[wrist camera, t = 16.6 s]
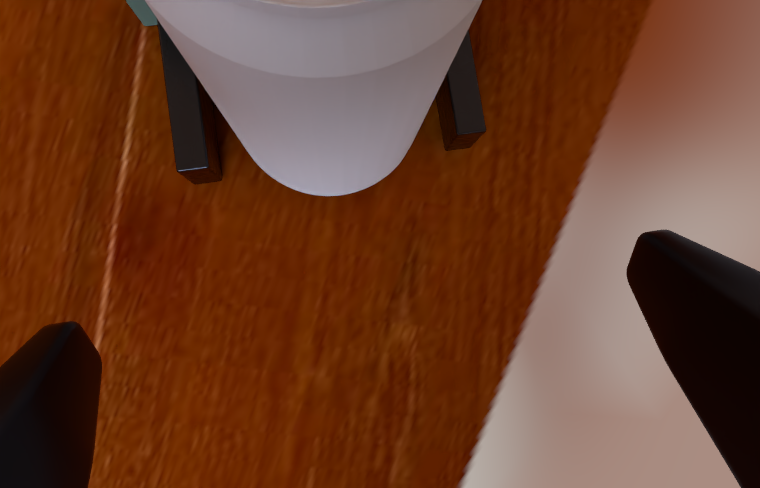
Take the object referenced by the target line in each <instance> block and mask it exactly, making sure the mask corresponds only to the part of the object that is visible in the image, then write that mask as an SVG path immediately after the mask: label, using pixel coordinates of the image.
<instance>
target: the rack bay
mask: <svg viewBox="0 0 760 488" xmlns="http://www.w3.org/2000/svg"><path fill="white" fill-rule="evenodd" d="M126 2H127V3H128V4H129V6H130V7H131V8H132V10H133V11H134V13H135V14H136V15H137V17H138V18H139V19H140V21H141V22H142V23H143V25H144V26H151V25H158V30H159V38H160V46H161V54H162V61H163V69H164V77H165V85H166V93H167V100H168V108H169V116H170V124H171V131H172V139H173V147H174V155H175V162H176V170H177V172H178V173H180V174H181V175H182V176H184V177H185V178H187V179H188V180H189V181H191V182H192V183H193V184H202V183H210V182H217V181H221V180H222V173H221V165H220V158H219V150H218V143H217V136H216V128H215V121H214V114H213V106H212V99H211V97H210V96H209V94H208V93H207V91H206V90H205V88H204V87H203V85H202V84H201V82H200V81H199V79H198V78H197V76H196V75H195V74H194V72H193V71H192V69H191V68H190V66H189V65H188V63H187V62H186V60H185V59H184V57H183V56H182V54H181V53H180V51H179V50H178V49H177V47H176V46H175V44H174V43H173V41H172V40H171V38H170V37H169V35H168V34H167V32H166V31H165V29H164V28H163V26H162V25H161V24H160V22H159V21H158V19H157V18H156V16H155V15H154V13H153V12H152V10H151V9H150V7H149V6H148V4H147V3H146V1H145V0H126ZM436 100H437V106H438V112H439V118H440V124H441V130H442V136H443V141H444V147H445V150H446V151H448V150H456V149H463V148H470V147H471V146H472V145H473V144H474V143H475V142H476V141H477V140H478V139H479V138H480V137H481V136H482V135H483V134H484V133H485V131H486V127H485V121H484V115H483V110H482V104H481V98H480V93H479V87H478V81H477V76H476V70H475V64H474V59H473V53H472V47H471V42H470V36H469V30H468V31H467V33H466V35H465V37H464V39H463V41H462V43H461V45H460V47H459V49H458V51H457V53H456V55H455V57H454V59H453V61H452V63H451V65H450V67H449V69H448V71H447V73H446V75H445V78H444V80H443V82H442V84H441V86H440V88H439V90H438V92H437V94H436Z"/></svg>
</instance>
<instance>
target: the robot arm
mask: <svg viewBox="0 0 760 488" xmlns="http://www.w3.org/2000/svg"><path fill="white" fill-rule="evenodd" d="M627 279H628V282H629V285H630V287H631V289H632V292H633V293H634V296H635V298H636V300H637V302H638V304H639V307H640V309H641V311H642V313H643V315H644V317H645V320H646V322H647V324H648V326H649V328H650V330H651V332H652V335H653V337H654V339H655V341H656V343H657V345H658V347H659V349H660V351H661V353H662V355H663V357H664V359H665V361H666V363H667V365H668V366H669V368H670V370H671V372H672V373H673V375H674V377H675V378H676V380H677V382H678V383H679V385H680V387H681V388H682V390H683V392H684V393H685V395H686V397H687V398H688V400H689V402H690V403H691V405H692V407H693V408H694V410H695V412H696V413H697V415H698V417H699V418H700V420H701V422H702V423H703V425H704V427H705V428H706V430H707V431H708V433H709V435H710V437H711V438H712V440H713V442H714V443H715V445H716V447H717V448H718V450H719V452H720V453H721V455H722V457H723V458H724V460H725V462H726V463H727V465H728V467H729V468H730V470H731V472H732V473H733V475H734V476H735V478H736V480H737V482H738V483H739V485H740V487H741V488H760V272H759V271H757V270H755V269H753V268H751V267H748V266H746V265H744V264H742V263H740V262H737V261H735V260H733V259H731V258H729V257H726V256H724V255H722V254H720V253H718V252H715V251H713V250H711V249H709V248H707V247H705V246H702V245H700V244H698V243H696V242H693V241H691V240H689V239H687V238H685V237H683V236H680V235H678V234H676V233H674V232H672V231H669V230H657V231H651V232H645V233H643V234H641V235H640V236H639V237H638V239H637V242H636V244H635V247H634V250H633V253H632V256H631V258H630V261H629V264H628V267H627ZM101 374H102V362H101V357H100V355H99V353H98V351H97V350H96V348H95V347H94V345H93V343H92V342H91V340H90V339H89V337H88V336H87V334H86V333H85V331H84V330H83V328H82V327H81V326H80V324H78V323H77V322H73V321H69V322H62V323H56V324H50V325H47V326H45V327H43V328H42V329H40V330H39V331H38V332H37V333H36V334H35V335H34V336H33V337H32V338H31V339H30V340H29V341H27V342H26V343H25V344H24V345H23V346H22V347H21V348H20V349H19V350H18V351H17V352H16V353H15V354H14V355H12V356H11V357H10V358H9V359H8V360H7V361H6V362H5V363H4V364H3V365H2V366H1V367H0V488H88V483H89V479H90V473H91V468H92V463H93V455H94V447H95V437H96V426H97V416H98V406H99V395H100V385H101Z"/></svg>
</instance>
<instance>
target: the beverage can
mask: <svg viewBox="0 0 760 488" xmlns="http://www.w3.org/2000/svg"><path fill="white" fill-rule="evenodd" d="M145 1H146V3H147V4H148V6H149V7H150V9H151V10H152V12H153V13H154V15H155V16H156V18H157V19H158V21H159V22H160V24H161V25H162V26H163V28H164V29H165V31H166V32H167V34H168V35H169V37H170V38H171V40H172V41H173V43H174V44H175V46H176V47H177V49H178V50H179V51H180V53H181V54H182V56H183V57H184V59H185V60H186V62H187V63H188V65H189V66H190V68H191V69H192V71H193V72H194V74H195V75H196V76H197V78H198V79H199V81H200V82H201V84H202V85H203V87H204V88H205V90H206V91H207V93H208V94H209V96H210V97H211V98H212V100H213V101H214V103H215V104H216V106H217V107H218V109H219V110H220V112H221V113H222V115H223V116H224V118H225V119H226V121H227V122H228V123H229V125H230V126H231V128H232V129H233V131H234V132H235V134H236V135H237V137H238V138H239V140H240V141H241V143H242V144H243V146H244V147H245V148H246V150H247V151H248V153H249V154H250V156H251V157H252V158H253V160H254V161H255V162H256V163H257V164H258V166H259V167H260V168H261V169H263V170H264V171H265V172H266V173H267V174H268V175H270V176H271V177H272V178H274V179H275V180H277V181H278V182H280V183H282V184H283V185H285V186H287V187H290V188H292V189H294V190H297V191H300V192H303V193H307V194H313V195H320V196H339V195H345V194H350V193H354V192H358V191H361V190H363V189H365V188H368V187H370V186H372V185H374V184H376V183H377V182H379V181H380V180H382V179H383V178H385V177H386V176H387V175H388V174H390V173H391V172H392V171H393V170H394V169H395V168H396V167H397V166H398V165H399V164H400V162H401V161H402V159H403V158H404V156H405V155H406V153H407V151H408V150H409V148H410V146H411V145H412V143H413V141H414V139H415V137H416V135H417V133H418V130H419V128H420V126H421V124H422V122H423V120H424V118H425V116H426V114H427V112H428V110H429V108H430V106H431V104H432V102H433V100H434V98H435V96H436V94H437V92H438V90H439V88H440V86H441V84H442V82H443V80H444V78H445V75H446V73H447V71H448V69H449V67H450V65H451V63H452V61H453V59H454V57H455V55H456V53H457V51H458V49H459V47H460V45H461V43H462V41H463V39H464V37H465V35H466V33H467V31H468V29H469V27H470V25H471V23H472V20H473V18H474V16H475V14H476V12H477V10H478V8H479V6H480V4H481V2H482V0H145Z"/></svg>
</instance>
